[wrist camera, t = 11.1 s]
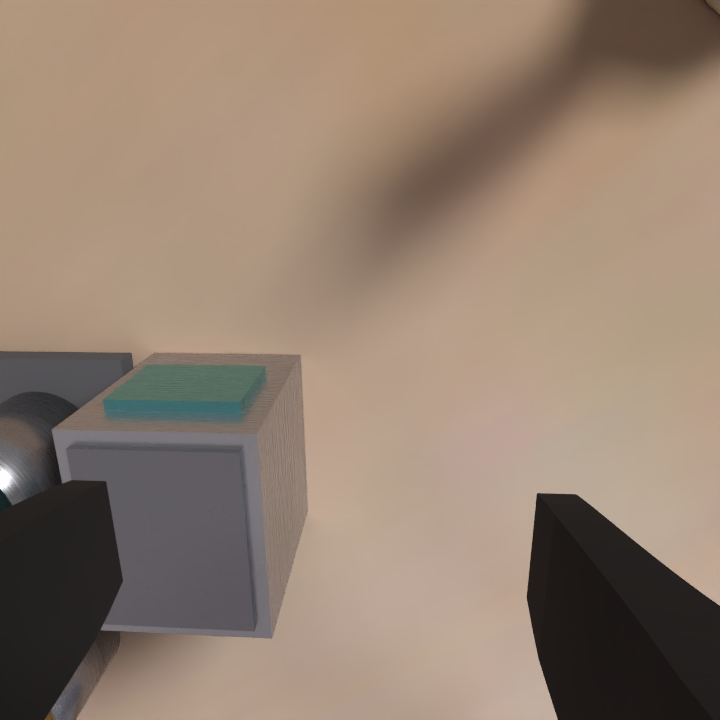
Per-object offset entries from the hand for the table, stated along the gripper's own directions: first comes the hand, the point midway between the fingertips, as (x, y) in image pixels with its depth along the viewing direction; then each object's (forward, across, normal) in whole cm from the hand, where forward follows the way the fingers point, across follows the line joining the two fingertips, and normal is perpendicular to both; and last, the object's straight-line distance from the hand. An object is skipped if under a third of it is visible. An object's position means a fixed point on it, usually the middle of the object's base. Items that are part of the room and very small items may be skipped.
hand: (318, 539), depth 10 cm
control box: (+10, +4, +3) cm, 11 cm away
